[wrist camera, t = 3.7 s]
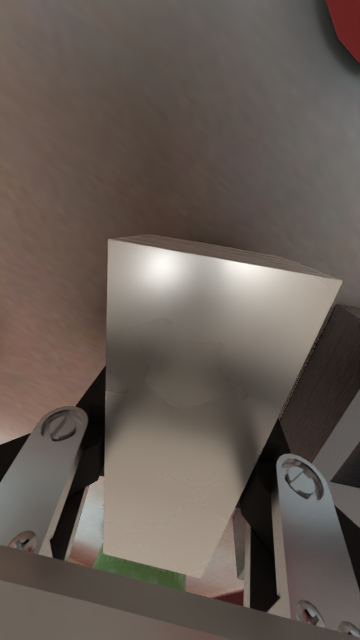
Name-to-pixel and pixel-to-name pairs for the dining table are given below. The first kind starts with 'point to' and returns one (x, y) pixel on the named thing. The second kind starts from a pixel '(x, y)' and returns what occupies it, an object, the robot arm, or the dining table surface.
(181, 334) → the white rectangular block
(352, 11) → the beer can
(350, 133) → the dining table surface
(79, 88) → the dining table surface
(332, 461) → the gray slotted block
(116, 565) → the ramekin
